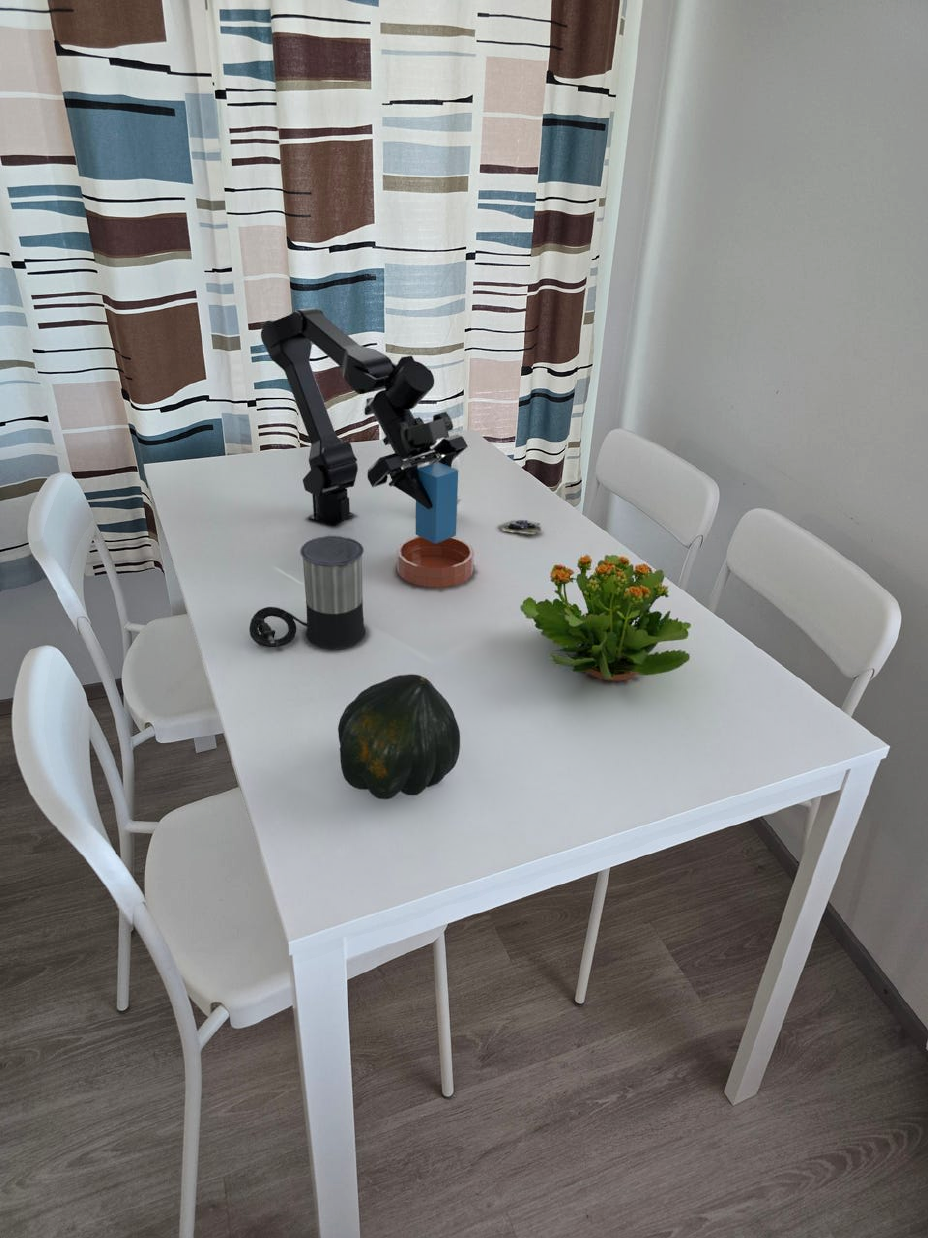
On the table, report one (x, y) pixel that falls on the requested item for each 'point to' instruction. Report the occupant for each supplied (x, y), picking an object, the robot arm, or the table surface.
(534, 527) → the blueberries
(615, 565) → the potted flower
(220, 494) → the table surface
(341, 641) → the milk frother
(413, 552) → the terracotta bowl
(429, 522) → the blue rectangular block
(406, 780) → the squash
